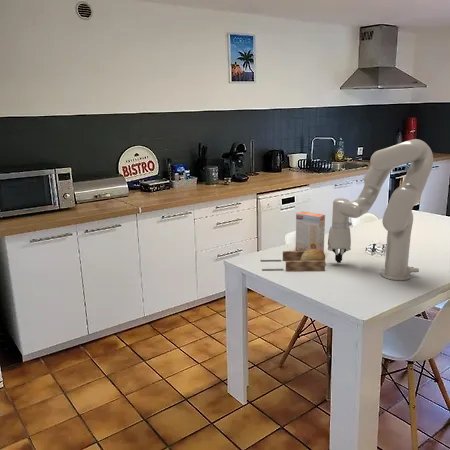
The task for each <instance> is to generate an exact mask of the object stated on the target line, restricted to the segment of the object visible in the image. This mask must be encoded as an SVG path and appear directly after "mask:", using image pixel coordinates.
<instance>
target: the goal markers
mask: <svg viewBox="0 0 450 450" xmlns="http://www.w3.org/2000/svg"><path fill="white" fill-rule="evenodd" d="M260 262H282V259H260ZM261 270H262V271H263V272H265V271H268V272H269V271H271V272H272V271H284V270H285V269H284V268H261Z"/></svg>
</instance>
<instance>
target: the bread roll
mask: <svg viewBox="0 0 450 450" xmlns="http://www.w3.org/2000/svg"><path fill="white" fill-rule="evenodd" d="M322 260H325V261H326V253H325V251H324V252H323V251H322V250H319V249H309V250H306V251H305V252H304V253H303V254H302V256H301V259H300V261H322Z"/></svg>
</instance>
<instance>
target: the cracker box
mask: <svg viewBox="0 0 450 450" xmlns="http://www.w3.org/2000/svg"><path fill="white" fill-rule="evenodd" d="M325 224H326V215H325V214H320V213H316V212H307V211H299V212H296V214H295V251H306V250H309V249H319V250H322V251H323V252H324V253H325V231H326V229H325V227H326V225H325Z"/></svg>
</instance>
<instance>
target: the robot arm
mask: <svg viewBox="0 0 450 450" xmlns="http://www.w3.org/2000/svg"><path fill="white" fill-rule="evenodd" d="M369 162H370V166H369V168H368V170H367V171H366V173H365V175H364V177H363V182H364V183H363V188H362V190H361V192H360V194H359V195H358V197H357V199H355V200H353V201H350V200H349V199H347V198H335V199H334V200H333V201H332V218H331V219H332V221H331V226H330V228H329V231H328V238H327V250H328V251H329V252H333V253H334V254H335V255H334V260H335V261H336V263H337V264H339V263H340V264H342V261H343V255H344V254H345V253H346V252H349V251H351V249H352V248H351V245H352V239H351V237H352V235H351V229H350V227H351V226H353V223H352V222H350V218H352V219H358V218H360V217H362V216H363V215H365V214H367V213H368V212H369V211H370V209H372V206H373V205H374V203H375V201H376V200H377V198H378V196H379V194H380V191H381V190H382V186H383V185H384V183H385V181H386V180H387V178H388V176H389V175H390V173H391V171H392V170H393V169H394V168H395V167H399V166H402V165H406V164H409V163H410V165H409V167H408V169H407V172H406V174H405V176H404V179H403V181H402V183H401V185H400V186H398V187H397V188H396V189H395V190H393V192H392V193H391V196H390V198H389V200H388V203H387V206H386V208H385V209H384V210H385V211H384V213H383V217H382V226H383V228H384V229H385V230H386V231H387V232H386V233H387V234H386V247H385V257H384V258H385V260H384V268H383V269H381V271H380V275H381V276H382V277H383V278H385V279H388V280H391V281H393V280H394V281H407V280H409V279H411V277H412V276H411V274H412V273H419V272H420V268H418V267H414V266H409V257H410V247H411V235H412V230H413V223H414V213H413V208H414V206H415V205H416V204H417V203H418V202H419V201H420V200H421V198H422V195H423V192H424V190H425V187H426V185H427V182H428V179H429V177H430V174H431V171H432V169H433V164H434V155H433V151H432V149H431V147H430V146H429V144H427V143H426V142H425V141H423V140H421V139H418V138H414V139H409V140H405V141H402V142H400V143H396V144H395V145H392V146H391V145H390V146H389V147H385V148H382V149H379V150H376V151H374V152H373V154H372V155H371V156H370V161H369Z"/></svg>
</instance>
